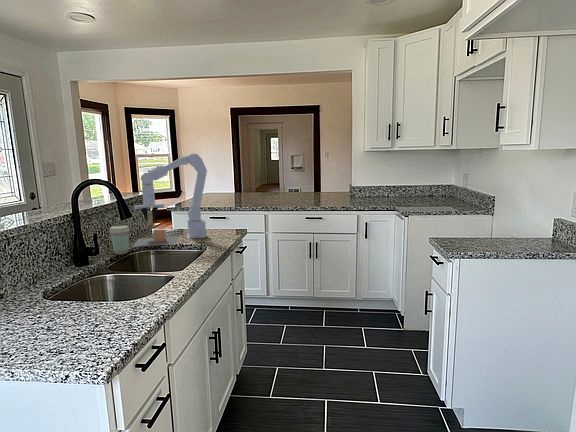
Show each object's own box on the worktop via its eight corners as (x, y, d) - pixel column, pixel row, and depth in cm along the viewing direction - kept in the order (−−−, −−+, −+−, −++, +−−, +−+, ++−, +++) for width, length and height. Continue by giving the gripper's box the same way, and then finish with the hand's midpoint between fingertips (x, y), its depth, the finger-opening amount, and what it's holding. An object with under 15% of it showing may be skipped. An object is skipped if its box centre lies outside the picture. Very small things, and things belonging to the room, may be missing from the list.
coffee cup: (135, 250, 177) (133, 225, 176) (123, 255, 169) (121, 229, 167) (119, 250, 180) (117, 224, 178) (106, 254, 171) (104, 228, 169)
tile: (166, 240, 196) (166, 228, 195) (166, 241, 194) (165, 229, 194) (154, 241, 195) (153, 229, 194) (154, 241, 193) (153, 230, 192)
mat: (178, 237, 205) (178, 236, 205) (175, 245, 188) (175, 244, 188) (138, 239, 201) (138, 238, 201) (132, 247, 184) (132, 246, 184)
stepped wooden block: (155, 226, 201) (154, 211, 200) (154, 227, 197) (153, 212, 196) (147, 226, 200) (146, 211, 199) (146, 228, 196) (145, 212, 195)
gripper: (132, 197, 191) (134, 224, 193) (162, 196, 194) (164, 223, 196) (134, 196, 198) (136, 222, 200) (164, 195, 201) (166, 220, 203)
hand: (150, 222), depth 198 cm, fingers closed on stepped wooden block, 2 cm apart
